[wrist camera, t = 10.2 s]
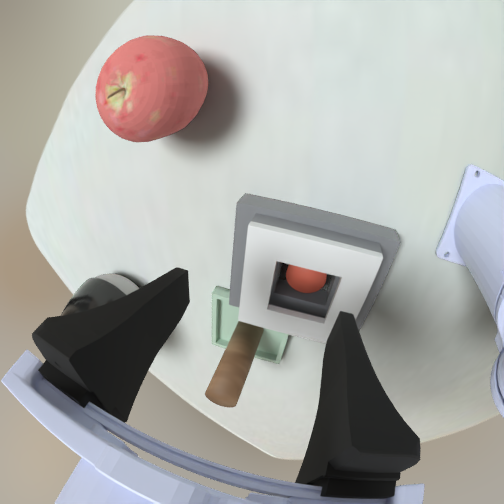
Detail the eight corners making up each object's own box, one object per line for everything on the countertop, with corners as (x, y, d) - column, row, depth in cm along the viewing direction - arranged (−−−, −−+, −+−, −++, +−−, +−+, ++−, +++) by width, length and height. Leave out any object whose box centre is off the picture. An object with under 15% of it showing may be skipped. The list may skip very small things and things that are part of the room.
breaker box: (395, 229, 19) (405, 257, 16) (356, 321, 24) (355, 353, 21) (245, 193, 21) (226, 213, 18) (236, 291, 27) (221, 319, 23)
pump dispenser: (89, 273, 33) (17, 345, 21) (127, 249, 28) (31, 343, 16) (133, 328, 36) (75, 406, 24) (178, 318, 32) (111, 421, 19)
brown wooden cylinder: (268, 327, 27) (242, 402, 20) (255, 339, 29) (228, 409, 22) (245, 313, 27) (212, 386, 20) (233, 326, 29) (200, 395, 21)
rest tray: (296, 307, 25) (294, 316, 24) (281, 356, 30) (279, 364, 29) (216, 285, 27) (211, 293, 26) (215, 336, 31) (211, 344, 30)
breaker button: (331, 254, 21) (331, 265, 20) (321, 285, 23) (320, 297, 22) (293, 244, 22) (289, 255, 21) (286, 276, 24) (282, 287, 22)
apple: (222, 134, 19) (162, 156, 13) (143, 131, 20) (73, 153, 14) (229, 40, 15) (168, 15, 8) (146, 50, 17) (72, 45, 10)
